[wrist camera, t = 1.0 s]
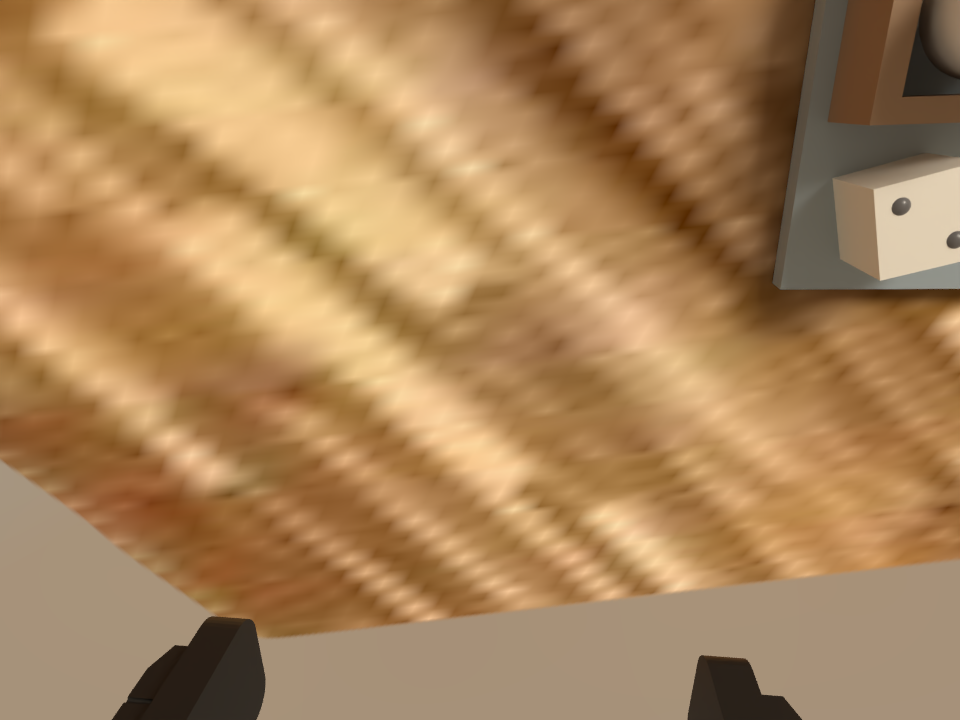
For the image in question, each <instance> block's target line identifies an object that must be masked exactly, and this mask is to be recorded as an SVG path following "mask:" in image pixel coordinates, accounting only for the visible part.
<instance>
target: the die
mask: <svg viewBox="0 0 960 720" xmlns="http://www.w3.org/2000/svg"><path fill="white" fill-rule="evenodd" d="M832 180H833V190H834V201H835V212H836V222H837V233H838V243H839V254H840V259H841V260H843V261H845V262H846V263H848V264H850V265H852V266H854V267H856V268H857V269H859V270H861V271H863V272H865V273H867V274H868V275H870V276H872V277H874V278H876V279H878V280H880V281H881V280H886V279H890V278H894V277H898V276H902V275H907V274H911V273H915V272H919V271H923V270H928V269H932V268H936V267H940V266H944V265H949V264H953V263H957V262H960V158H959V157H952V156H945V155H938V154H931V153H923V154H919V155H916V156H912V157H908V158H905V159H901V160H897V161H894V162H890V163H886V164H883V165H879V166H875V167H872V168H868V169H864V170H861V171H857V172H853V173H850V174H846V175H842V176H839V177H835V178H832Z"/></svg>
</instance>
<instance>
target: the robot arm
mask: <svg viewBox="0 0 960 720" xmlns="http://www.w3.org/2000/svg"><path fill="white" fill-rule="evenodd" d="M264 693H265V674H264V668H263V663H262V658H261V653H260V648H259V643H258V637H257V632H256V627H255V624H254V622H253V621H252V620H251V619H240V618H227V617H214V616H213V617H209V618H208V619H206V620H205V621H204V623H203V624H202V625H201V627H200V628H199V630H198V631H197V633H196V634H195V636H194V638H193V639H192V641H191V642H190V644H189V645H188V646H177V645H175V646H174V647H172V648H171V649H170V650H169V651H168V652H167V653H165V654H164V655H163V656H162V657H161V658H159V659H158V660H157V661H156V662H155V663H153V664H152V665H151V666H150V667H149V668H148V669H147V670H146V671H145V673H144V674H143V676H142V677H141V679H140V680H139V681H138V683H137V684H136V686H135V687H134V689H133V690H132V691H131V693H130V694H129V696H128V700H127V702H126V703H123V704H122V706H121V707H120V709H119V710H118V712H117V713H116V715H115V716H114V718H113V719H112V720H256V719H257V717H258V715H259V712H260V709H261V706H262V703H263V698H264ZM688 720H802V719H801V718H800V716H798V714H797V713H796V712H795V711H794V709H793V708H792V707H791V706H790V704H789V703H788V702H787V701H786V700H785V698H784V697H782V696H771V695H761V692H760V689H759V687H758V684H757V681H756V678H755V675H754V673H753V670H752V667H751V665H750V664H749V662H748V661H747V660H746V659H743V658H730V657H716V656H704V655H701V656H700V657H699V660H698V664H697V669H696V674H695V679H694V685H693V690H692V696H691V701H690V706H689V712H688Z"/></svg>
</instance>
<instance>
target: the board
mask: <svg viewBox="0 0 960 720" xmlns="http://www.w3.org/2000/svg"><path fill="white" fill-rule="evenodd" d="M922 3H923V0H816V1H815V7H814V14H813V20H812V27H811V33H810V40H809V46H808V53H807V60H806V66H805V73H804V79H803V86H802V92H801V99H800V105H799V112H798V118H797V125H796V132H795V138H794V145H793V151H792V158H791V164H790V171H789V177H788V184H787V190H786V197H785V204H784V210H783V217H782V223H781V230H780V236H779V243H778V249H777V256H776V262H775V269H774V276H773V282H772V283H773V284H774V285H775V286H776V287H778V288H779V289H780V290H808V289H960V262H957V263H953V264H949V265H944V266H940V267H936V268H932V269H928V270H923V271H919V272H915V273H911V274H907V275H902V276H898V277H894V278H890V279H886V280H881V281H880V280H878V279H876V278H874V277H872V276H870V275H868V274H867V273H865V272H863V271H861V270H859V269H857V268H856V267H854V266H852V265H850V264H848V263H846V262H845V261H843V260H841V259H840V254H839V243H838V233H837V222H836V212H835V201H834V190H833V180H832V178H835V177H839V176H842V175H846V174H850V173H853V172H857V171H861V170H864V169H868V168H872V167H875V166H879V165H883V164H886V163H890V162H894V161H897V160H901V159H905V158H908V157H912V156H916V155H919V154H923V153H931V154H938V155H945V156H952V157H959V158H960V79H957V78H954V77H951V76H949V75H947V74H945V73H943V72H941V71H940V70H939V69H937V68H936V67H935V66H934V65H933V64H932V63H931V61H930V60H929V58H928V57H927V55H926V54H925V51H924V49H923V47H922V43H921V39H920V33H919V17H920V11H921V6H922Z"/></svg>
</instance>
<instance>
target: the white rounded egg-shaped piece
mask: <svg viewBox="0 0 960 720" xmlns="http://www.w3.org/2000/svg"><path fill="white" fill-rule="evenodd" d="M919 33H920V39H921V43H922V47H923V49H924V51H925V54H926V55H927V57H928V58H929V60H930V61H931V63H932V64H933V65H934V66H935V67H936V68H937V69H939V70H940V71H941V72H943V73H945V74H947V75H949V76H951V77H954V78H957V79H960V0H923V3H922V6H921V11H920V17H919Z"/></svg>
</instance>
